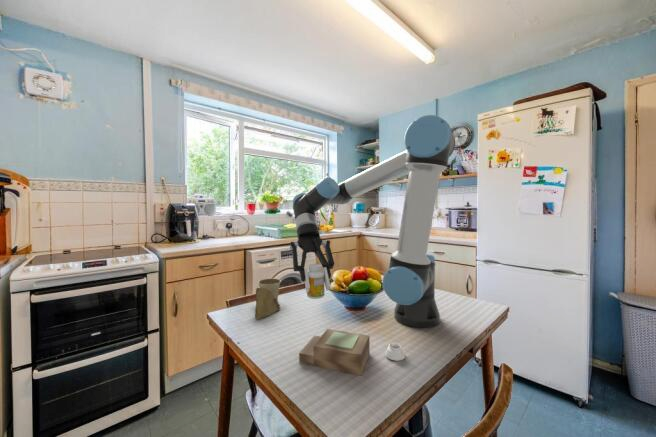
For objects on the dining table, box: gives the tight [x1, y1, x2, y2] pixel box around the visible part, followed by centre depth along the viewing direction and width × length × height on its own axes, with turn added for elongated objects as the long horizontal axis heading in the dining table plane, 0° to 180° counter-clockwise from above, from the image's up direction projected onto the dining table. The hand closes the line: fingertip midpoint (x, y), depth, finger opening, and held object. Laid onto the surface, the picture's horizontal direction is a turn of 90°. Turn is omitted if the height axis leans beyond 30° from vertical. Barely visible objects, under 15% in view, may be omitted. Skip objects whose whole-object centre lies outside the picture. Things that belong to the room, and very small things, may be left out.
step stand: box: [298, 328, 370, 377], centre depth 71 cm, size 16×10×5 cm, turn 70°
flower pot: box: [257, 278, 282, 301], centre depth 114 cm, size 9×9×9 cm
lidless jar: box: [384, 342, 406, 362], centre depth 72 cm, size 5×3×5 cm
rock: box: [254, 287, 281, 321], centre depth 101 cm, size 11×9×10 cm
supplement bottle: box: [306, 263, 325, 300], centre depth 84 cm, size 5×5×10 cm
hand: (318, 289), depth 81 cm, fingers closed on supplement bottle, 5 cm apart
